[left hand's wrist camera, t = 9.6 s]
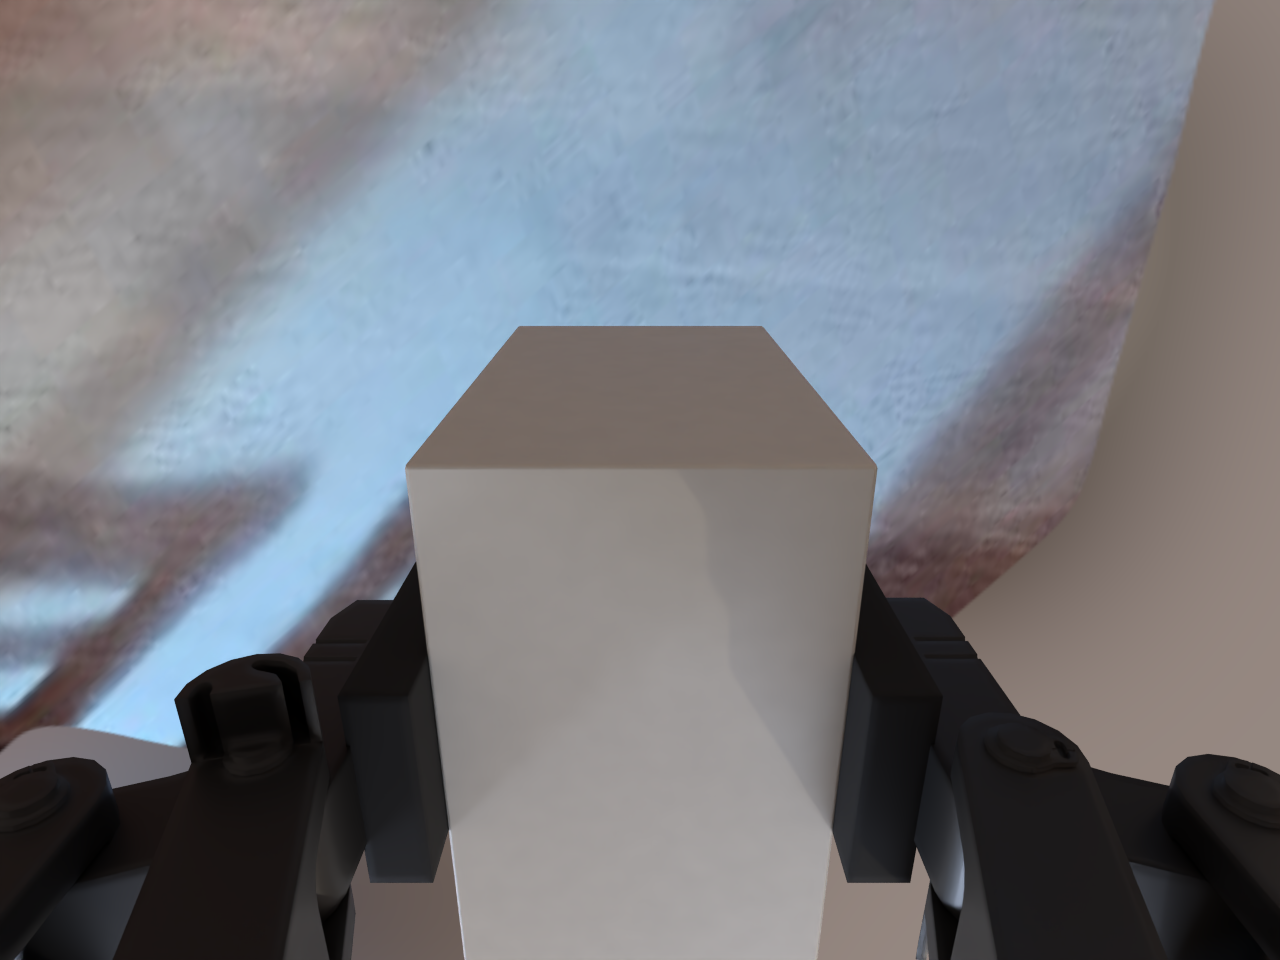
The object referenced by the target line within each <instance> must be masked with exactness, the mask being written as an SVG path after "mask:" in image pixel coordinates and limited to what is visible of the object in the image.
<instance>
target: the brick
mask: <svg viewBox="0 0 1280 960" xmlns="http://www.w3.org/2000/svg"><path fill="white" fill-rule="evenodd" d="M405 472H406V480H407V488H408V496H409V505H410V513H411V521H412V530H413V538H414V546H415V554H416V563H417V571H418V579H419V587H420V596H421V604H422V612H423V620H424V629H425V637H426V645H427V653H428V661H429V669H430V678H431V686H432V694H433V703H434V711H435V719H436V727H437V736H438V744H439V752H440V760H441V769H442V777H443V785H444V793H445V802H446V810H447V818H448V826H449V835H450V843H451V852H452V860H453V868H454V876H455V885H456V893H457V901H458V909H459V918H460V926H461V934H462V942H463V951H464V958H465V960H817V957H818V949H819V941H820V933H821V925H822V916H823V908H824V900H825V892H826V884H827V875H828V867H829V859H830V851H831V843H832V835H833V832H832V830H833V822H834V814H835V805H836V797H837V789H838V781H839V773H840V764H841V756H842V748H843V740H844V732H845V723H846V715H847V707H848V699H849V691H850V682H851V674H852V666H853V658H854V653H855V647H856V639H857V631H858V622H859V614H860V606H861V598H862V590H863V582H864V573H865V565H866V557H867V549H868V541H869V533H870V524H871V516H872V508H873V500H874V492H875V484H876V475H877V466H876V464H875V463H874V461H873V460H872V459H871V458H870V456H869V455H868V454H867V453H866V452H865V450H864V449H863V448H862V447H861V446H860V444H859V443H858V442H857V441H856V439H855V438H854V437H853V436H852V435H851V433H850V432H849V431H848V430H847V429H846V427H845V426H844V425H843V424H842V422H841V421H840V420H839V419H838V418H837V416H836V415H835V414H834V413H833V411H832V410H831V409H830V408H829V407H828V405H827V404H826V403H825V402H824V401H823V399H822V398H821V397H820V396H819V394H818V393H817V392H816V391H815V390H814V388H813V387H812V386H811V385H810V384H809V382H808V381H807V380H806V379H805V377H804V376H803V375H802V374H801V373H800V371H799V370H798V369H797V368H796V366H795V365H794V364H793V363H792V362H791V360H790V359H789V358H788V357H787V356H786V354H785V353H784V352H783V351H782V349H781V348H780V347H779V346H778V345H777V343H776V342H775V341H774V340H773V339H772V337H771V336H770V335H769V334H768V332H767V331H766V330H765V329H764V328H763V327H762V326H520V327H518V328H517V329H516V330H515V332H514V333H513V334H512V335H511V336H510V338H509V339H508V340H507V341H506V343H505V344H504V345H503V346H502V348H501V349H500V350H499V351H498V352H497V354H496V355H495V356H494V357H493V359H492V360H491V361H490V362H489V364H488V365H487V366H486V367H485V368H484V370H483V371H482V372H481V373H480V375H479V376H478V377H477V378H476V380H475V381H474V382H473V383H472V384H471V386H470V387H469V388H468V389H467V391H466V392H465V393H464V394H463V395H462V397H461V398H460V399H459V400H458V402H457V403H456V404H455V405H454V407H453V408H452V409H451V410H450V411H449V413H448V414H447V415H446V416H445V418H444V419H443V420H442V421H441V423H440V424H439V425H438V426H437V427H436V429H435V430H434V431H433V432H432V434H431V435H430V436H429V437H428V439H427V440H426V441H425V442H424V443H423V445H422V446H421V447H420V448H419V450H418V451H417V452H416V453H415V454H414V456H413V457H412V458H411V459H410V461H409V462H408V463H407V464H406V467H405Z"/></svg>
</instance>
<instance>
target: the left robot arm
mask: <svg viewBox="0 0 1280 960" xmlns="http://www.w3.org/2000/svg"><path fill="white" fill-rule="evenodd" d="M174 701H175V704H176V708H177V712H178V715H179V719H180V723H181V726H182V730H183V734H184V737H185V741H186V745H187V748H188V752H189V756H190V759H191V766H190V768H189V771H186V772H183V773H180V774H176V775H173V776H169V777H164V778H160V779H155V780H151V781H146V782H142V783H137V784H133V785H128V786H123V787H119V788H114V789H112V787H111V784H110V781H109V778H108V775H107V772H106V769H105V768H103V767H102V766H101V765H100V764H98V763H97V762H96V761H95V760H90V759H83V758H76V757H71V758H63V759H56V760H48V761H44V762H41V763H38V764H34V765H32V766H28V767H25V768H22V769H20V770H17V771H15V772H13V773H11V774H9V775H7V776H5V777H3V778H1V779H0V960H351V955H352V944H353V934H354V924H355V914H356V913H355V907H354V900H353V894H352V889H351V884H350V883H351V881H352V878H353V876H354V873H355V871H356V869H357V866H358V864H359V861H360V859H361V856H362V854H363V851H364V850H365V855H366V861H367V867H368V872H369V878H370V883H433V881H434V878H435V874H436V871H437V867H438V864H439V861H440V857H441V854H442V850H443V847H444V844H445V840H446V837H447V833H448V830H449V826H448V818H447V810H446V802H445V793H444V785H443V777H442V769H441V760H440V752H439V744H438V736H437V727H436V719H435V711H434V703H433V694H432V686H431V678H430V669H429V661H428V653H427V645H426V637H425V629H424V620H423V612H422V604H421V596H420V587H419V579H418V571H417V563H416V562H415V564H414V566H413V567H412V569H411V571H410V573H409V574H408V576H407V578H406V579H405V581H404V583H403V585H402V586H401V588H400V590H399V591H398V593H397V595H396V597H395V598H394V600H357V601H355V602H354V603H352V604H351V605H349V606H348V607H346V608H345V609H344V610H342V611H341V612H339V613H338V614H336V615H335V616H333V617H332V618H331V619H330V620H329V622H328V623H327V625H326V626H325V627H324V629H323V630H322V632H321V633H320V635H319V636H318V637H317V639H316V644H312V646H311V647H310V649H309V650H308V652H307V653H306V654H305V656H304V661H302V660H300V659H299V658H297V657H293V656H289V655H284V654H280V653H278V654H255V655H251V656H247V657H242V658H238V659H233V660H230V661H228V662H225V663H223V664H221V665H218V666H216V667H213V668H211V669H209V670H206V671H205V672H204V673H202V674H201V675H199V676H198V677H196V678H195V679H193V680H192V681H190V682H189V683H187V684H186V685H185V687H184V688H183V689H182V690H181V692H180V693H179V694H178V695H177V697H176V698H175V699H174ZM832 832H833V835H834V839H835V842H836V845H837V849H838V852H839V856H840V859H841V863H842V866H843V869H844V873H845V876H846V880H847V882H848V883H910V881H911V875H912V869H913V864H914V858H915V853H916V847H917V849H918V851H919V854H920V856H921V859H922V861H923V864H924V866H925V868H926V871H927V873H928V876H929V878H930V884H929V889H928V894H927V899H926V905H925V910H924V915H923V920H922V926H921V931H920V936H919V942H918V948H917V954H916V959H917V960H926V958H927V952H928V953H929V960H1280V775H1279V774H1277V773H1275V772H1273V771H1271V770H1270V769H1268V768H1266V767H1263V766H1260V765H1258V764H1255V763H1250V762H1248V761H1245V760H1241V759H1238V758H1235V757H1227V756H1220V755H1212V754H1205V755H1198V756H1191V757H1187V758H1186V759H1184V760H1183V761H1182V762H1181V763H1179V764H1178V765H1177V766H1176V768H1175V771H1174V774H1173V777H1172V780H1171V783H1170V786H1167V785H1163V784H1158V783H1153V782H1149V781H1144V780H1140V779H1135V778H1131V777H1126V776H1122V775H1117V774H1112V773H1109V772H1105V771H1102V770H1098V769H1095V768H1091V767H1090V764H1089V762H1088V760H1087V759H1086V758H1085V756H1084V755H1083V753H1082V752H1081V750H1080V749H1079V747H1078V746H1077V745H1076V744H1075V743H1073V742H1072V741H1071V740H1070V739H1068V738H1067V737H1066V736H1064V735H1063V734H1062V733H1061V732H1059V731H1058V730H1056V729H1054V728H1052V727H1049V726H1047V725H1045V724H1043V723H1041V722H1039V721H1037V720H1035V719H1031V718H1027V717H1023V716H1020V714H1019V713H1018V711H1017V710H1016V709H1015V707H1014V706H1013V704H1012V703H1011V701H1010V700H1009V699H1008V697H1007V696H1006V694H1005V693H1004V692H1003V690H1002V689H1001V687H1000V686H999V684H998V683H997V682H996V680H995V679H994V677H993V676H992V675H991V673H990V672H989V670H988V669H987V667H986V666H985V665H984V663H983V662H982V660H981V659H978V658H977V653H976V652H975V650H974V649H973V648H972V646H971V645H970V643H969V642H968V641H965V636H964V635H963V633H962V632H961V631H960V629H959V628H958V626H957V625H956V624H955V622H954V621H953V619H952V618H951V616H950V615H948V614H947V613H945V612H944V611H942V610H941V609H939V608H938V607H936V606H935V605H934V604H932V603H931V602H929V601H928V600H926V599H925V598H886V597H885V596H884V594H883V592H882V591H881V589H880V587H879V585H878V584H877V582H876V580H875V579H874V577H873V575H872V573H871V572H870V570H869V568H868V567H867V565H865V573H864V582H863V590H862V598H861V606H860V614H859V622H858V631H857V639H856V647H855V653H854V658H853V666H852V674H851V682H850V691H849V699H848V707H847V715H846V723H845V732H844V740H843V748H842V756H841V764H840V773H839V781H838V789H837V797H836V805H835V814H834V822H833V830H832Z"/></svg>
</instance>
